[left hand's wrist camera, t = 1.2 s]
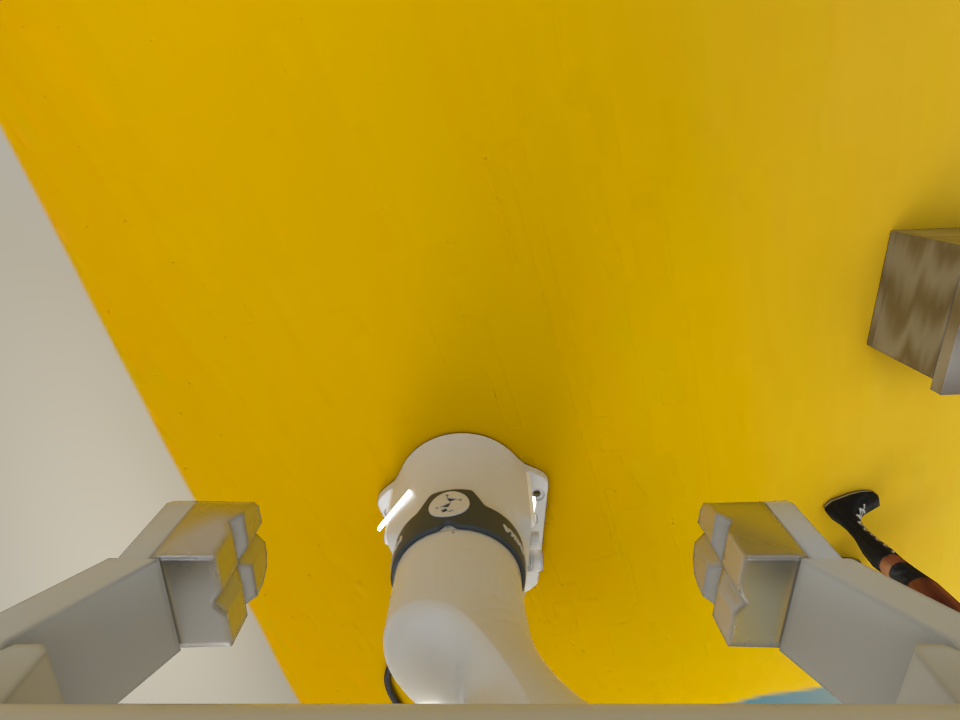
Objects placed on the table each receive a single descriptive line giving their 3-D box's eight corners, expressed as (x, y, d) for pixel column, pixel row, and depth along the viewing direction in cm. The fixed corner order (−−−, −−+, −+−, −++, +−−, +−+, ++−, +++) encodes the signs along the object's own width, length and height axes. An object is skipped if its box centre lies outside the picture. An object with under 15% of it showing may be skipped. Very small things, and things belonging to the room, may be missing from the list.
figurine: (850, 616, 69) (1104, 939, 41) (798, 617, 69) (1015, 940, 41) (895, 438, 60) (1255, 693, 32) (835, 440, 60) (1142, 696, 32)
